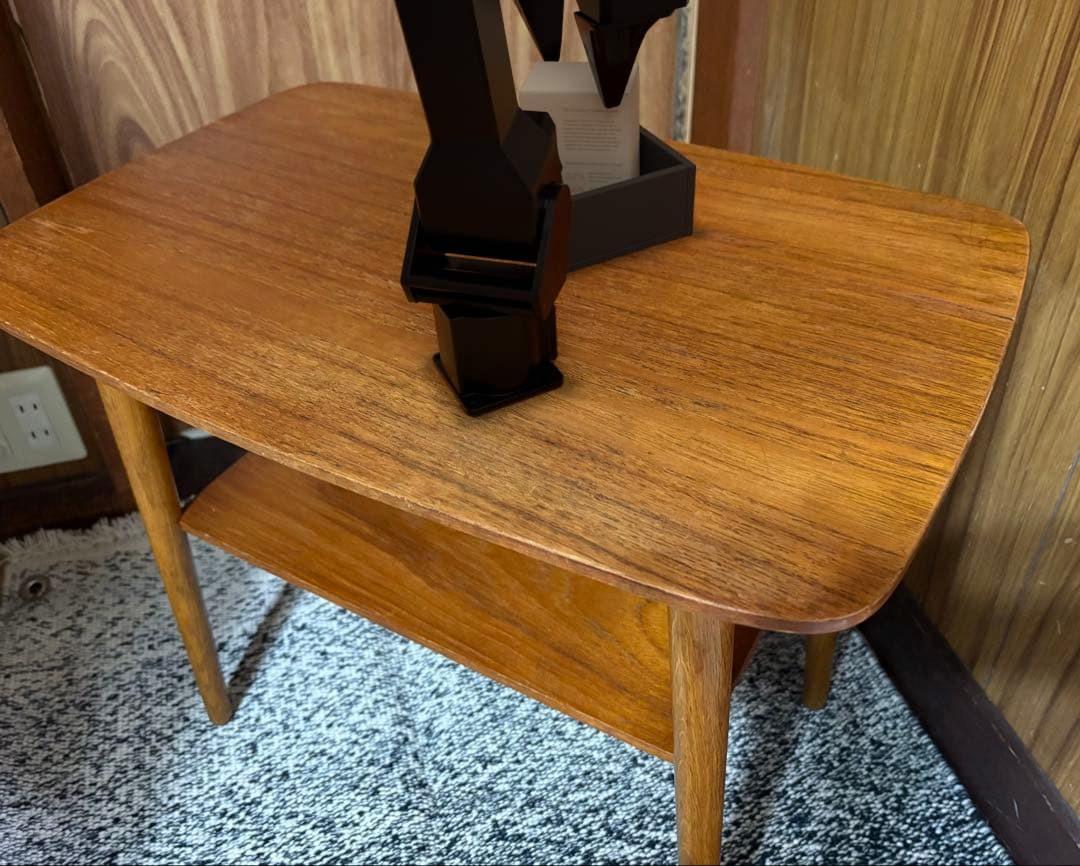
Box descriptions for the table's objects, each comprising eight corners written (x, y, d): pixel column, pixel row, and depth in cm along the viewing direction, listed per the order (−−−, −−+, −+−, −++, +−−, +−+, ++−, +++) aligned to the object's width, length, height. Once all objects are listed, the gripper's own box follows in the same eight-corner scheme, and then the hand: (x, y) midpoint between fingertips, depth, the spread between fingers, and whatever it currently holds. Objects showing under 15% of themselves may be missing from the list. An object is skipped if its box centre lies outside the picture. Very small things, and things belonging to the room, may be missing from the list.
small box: (640, 194, 77) (642, 60, 70) (631, 230, 73) (633, 92, 66) (540, 190, 79) (532, 58, 72) (526, 225, 75) (517, 89, 68)
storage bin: (556, 276, 70) (553, 205, 66) (482, 199, 79) (476, 133, 76) (693, 234, 73) (696, 164, 70) (606, 164, 83) (606, 100, 79)
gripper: (777, -165, 55) (752, 104, 66) (615, -208, 68) (616, 22, 78) (602, -134, 52) (605, 144, 62) (467, -185, 65) (488, 52, 75)
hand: (580, 84), depth 70 cm, fingers open, 9 cm apart
